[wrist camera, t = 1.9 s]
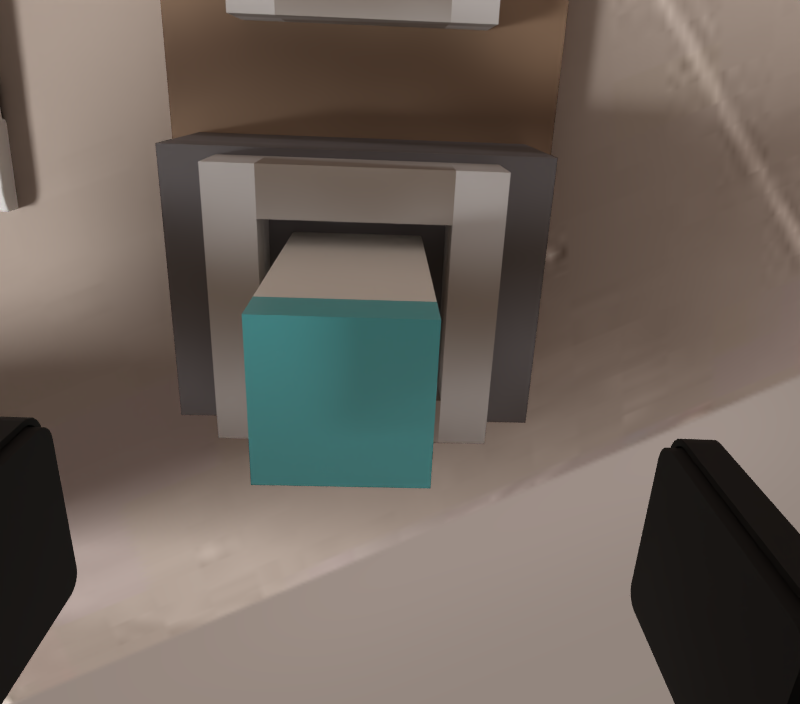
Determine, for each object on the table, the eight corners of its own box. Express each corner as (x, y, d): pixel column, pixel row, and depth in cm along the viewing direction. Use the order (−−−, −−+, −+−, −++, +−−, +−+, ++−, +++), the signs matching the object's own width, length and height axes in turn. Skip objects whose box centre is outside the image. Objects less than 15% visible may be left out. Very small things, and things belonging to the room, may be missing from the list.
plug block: (415, 354, 22) (430, 488, 15) (295, 350, 22) (251, 484, 15) (421, 235, 21) (441, 320, 13) (293, 231, 21) (241, 314, 13)
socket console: (519, 353, 29) (568, 452, 22) (200, 345, 29) (132, 442, 21) (590, -283, 21) (712, -501, 13) (148, -309, 21) (2, -551, 13)
